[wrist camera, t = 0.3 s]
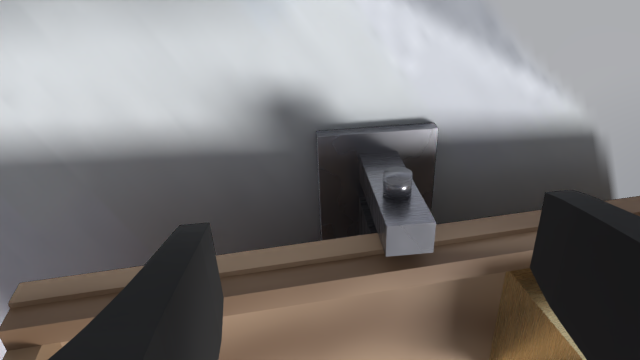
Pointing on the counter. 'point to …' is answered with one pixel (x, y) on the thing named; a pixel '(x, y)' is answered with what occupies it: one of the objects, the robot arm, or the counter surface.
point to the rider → (529, 324)
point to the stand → (379, 185)
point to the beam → (321, 297)
